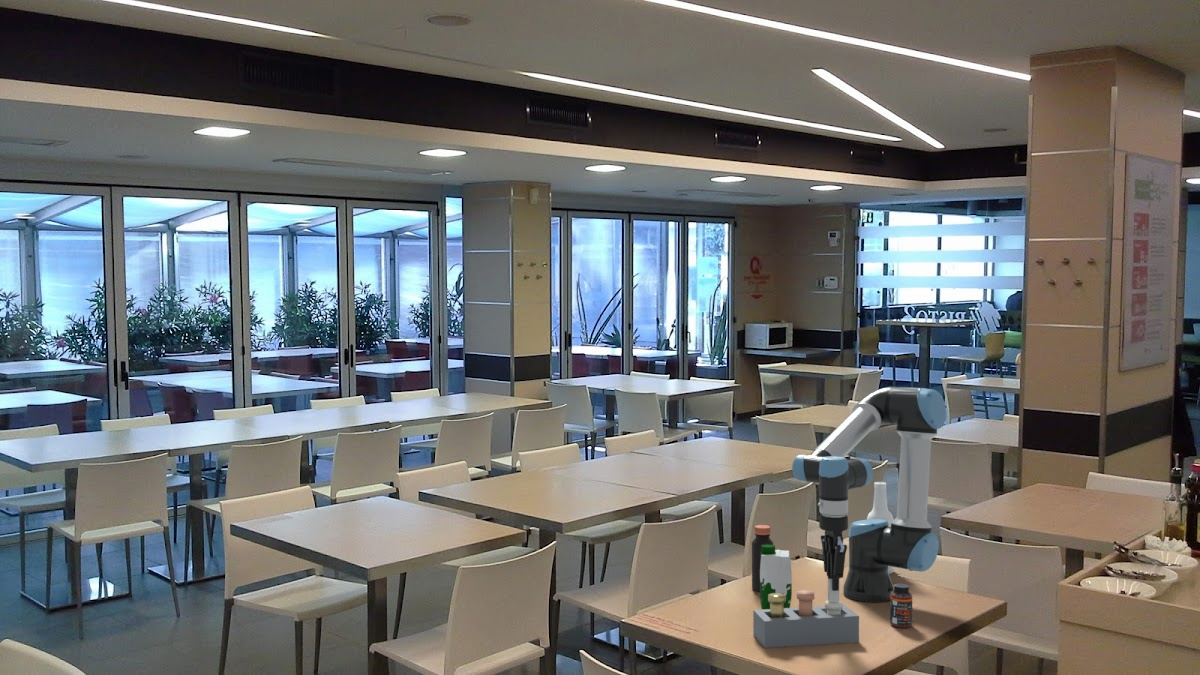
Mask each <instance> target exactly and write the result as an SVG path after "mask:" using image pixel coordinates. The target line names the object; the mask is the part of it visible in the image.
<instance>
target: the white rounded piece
mask: <svg viewBox="0 0 1200 675" xmlns="http://www.w3.org/2000/svg"><path fill="white" fill-rule="evenodd" d="M824 602H825V603H824V604H825V605H824V606H825V608H826V609H827V615H836V614H841V609H843V605H844V604H843V603H844V602H843V601H842V600H839V602H829V601H828V599H826V600H825V601H824Z"/></svg>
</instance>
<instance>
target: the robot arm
mask: <svg viewBox="0 0 1200 675" xmlns="http://www.w3.org/2000/svg"><path fill="white" fill-rule="evenodd" d="M944 400H945V399H944V398H943V397H942V395H941V394H940V392H939V391H937V390H936V389H933V388H932V389H930V388H924V387H907V386H906V387H902V386H886V387H882V388H879V389H877V390H874V391H873V392H871V393H869V394H868V395H866V396H864V397H863V398H861V399H860V400H859V401H858V402H857V403H855V405H854V406H853V408H852V411H851V413H850V414H849V415H848V416H847V418H845V420H843V421H842V423H840V425H838V426H837V427H836V428H835V429H834V430H833V431H832V432H831V433H830V434H829V435H828V436H827V437H826V438H825V439H824V440H823V441H821V443H820V444H819V445H818V446H817V447H815V449H814V450H813V451H812V452H810V454H798V455H796V456H795V457H794V459H793V462H792V466H791V471H792V473H793V474H792V475H793V477H794V478H795V479H796V480H798V481H803V482H806V483H813V484H819V495H818V496H819V502H818V503H817V506H818V507H819V513H820V515H819V516H818V518H819V520H818V521H819V524H818V526H819V529H821V530H823V531H824V535H821V536H820V541H821V546H822V549H821V550H822V557H823V558H822V559H823V571H824V573H826V576H827V600H828V601H829V602H839V601H840V579H841V578H844V572H845V562H846V553H847V550H848V572H847V575H846V577H845V581H844V583H843V589H842V591H843V594H842V595H844V597H846V598H847V599H848V598H849V599H852V600H854V601H859V602H865V603H866V602H868V603H869V602H871V603H879V602H881V603H882V602H888V601H890V595H891V593H892V592H893V591H894V584H893V582H892V578H891V576H890V574H889V573H888V566H892V567H894V568H898V569H904V570H908V571H909V572H914V571H915V572H920V573H922V572H927V571H928V570H930V569H931V568H932V567H933V565H934V564H935V562H936V559H937V557H938V554H939V549H940V547H939V546H940V545H939V544H940V543H939V540H938V539H939V538H938V536H937V535H936V534H934V532H932V530H933V529H932V528H933V526H932V525H931V524H930V522H928V504H929V485H930V483H929V481H930V464H931V451H932V450H931V447H932V440H933V438H934V437H936V436H937V435H938V430H939V429H941V428H942V427H943V426H944V425H945V421H946V419H947V408H946V403H945V401H944ZM883 425H885V426H886V425H891V426H892V425H893V426H896V433H897V434H898V435H899V436H900V438H901V439H900V454H899V470H898V471H899V472H898V485H897V486H898V487H897V488H898V489H897V490H898V491H897V502H896V503H897V504H896V506H897V507H896V517H895V518H893V519H894V520H893V521H892V522H891V527H888V525H889V524H888V521H887V520H883V519H869V520H867V519H862V520H856V521H853V522H852V523H850V525H849V517H848V514H849V499H848V498H849V497H848V496H849V490H852V489H858V488H860V489H861V488H863V487H865V486H867V485H869V484H870V483H871V482H872V480H873V478H874V469H873V466H872V465H871V463H870V462H869V461H868V460H865V459H863V458H861V459H860V458H858V459H857V458H854V459H852V460H851V459H847V458H846V456H847V455H849V453H850V452H852V450H854V448H855V447H856V446H857V445H858V444H859V443H860V442H862V440H863V439H864V438H865V437H866V436H867V435H868V434H869V433H870V432H872V431H876V430H878V429H879V428H880V427H881V426H883ZM848 529H849V530H848ZM847 530H848V546H847V544H844V537H843V532H844V531H847Z"/></svg>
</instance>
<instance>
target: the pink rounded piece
mask: <svg viewBox="0 0 1200 675" xmlns="http://www.w3.org/2000/svg"><path fill="white" fill-rule="evenodd" d="M796 599H797V600H798V607H799V617H802V616H812V607H813V601H814V600H815V592H814V591H812V590H807V589H802V590H798V591H796Z"/></svg>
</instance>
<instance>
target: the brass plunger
mask: <svg viewBox="0 0 1200 675" xmlns="http://www.w3.org/2000/svg"><path fill="white" fill-rule="evenodd" d="M768 601H769V602H770V618H784V603H785V602H786V596H785V595H784V594H781V593H771V594H769V595H768Z"/></svg>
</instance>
